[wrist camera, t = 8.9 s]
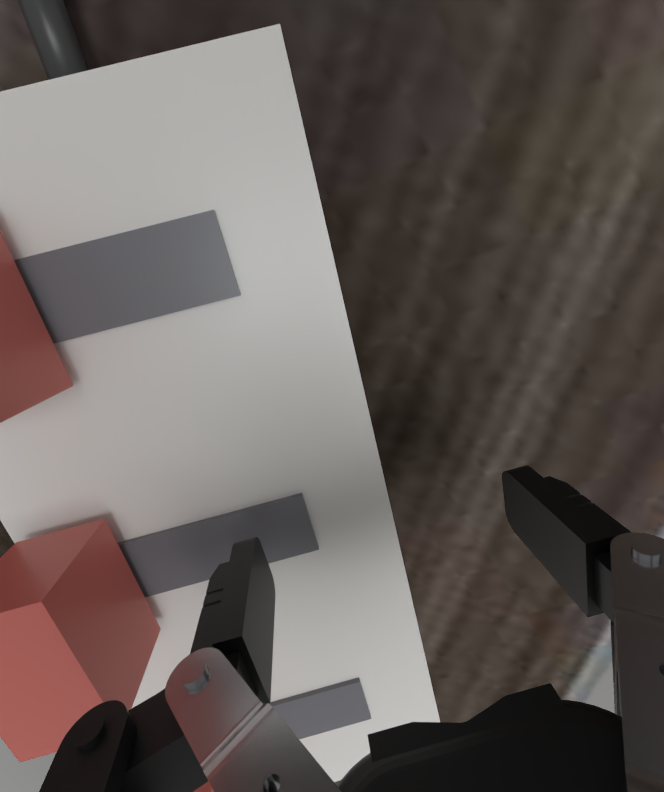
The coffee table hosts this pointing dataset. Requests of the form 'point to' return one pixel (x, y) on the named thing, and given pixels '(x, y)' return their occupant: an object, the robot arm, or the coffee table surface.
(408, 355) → the coffee table surface
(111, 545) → the toggle
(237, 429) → the slider control panel
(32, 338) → the toggle
